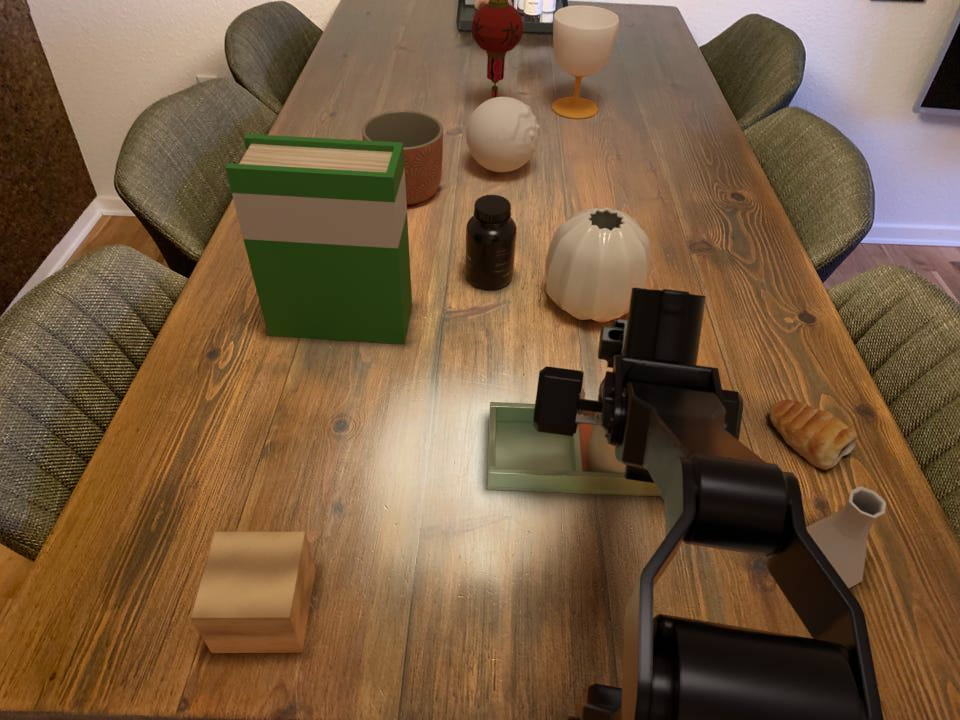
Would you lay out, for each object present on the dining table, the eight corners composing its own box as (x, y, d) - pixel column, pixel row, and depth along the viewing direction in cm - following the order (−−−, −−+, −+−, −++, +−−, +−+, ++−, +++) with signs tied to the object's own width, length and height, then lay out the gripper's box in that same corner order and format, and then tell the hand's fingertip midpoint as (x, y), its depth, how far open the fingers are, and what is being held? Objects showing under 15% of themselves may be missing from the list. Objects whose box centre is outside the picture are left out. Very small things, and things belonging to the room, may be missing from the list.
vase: (524, 283, 100) (532, 201, 90) (610, 261, 104) (625, 180, 95) (571, 346, 91) (585, 263, 82) (662, 320, 95) (685, 237, 86)
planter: (398, 221, 110) (393, 157, 102) (352, 187, 116) (345, 125, 109) (459, 194, 116) (459, 131, 108) (413, 163, 122) (410, 102, 114)
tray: (665, 496, 75) (671, 480, 73) (487, 489, 75) (488, 472, 73) (652, 425, 82) (657, 408, 80) (489, 418, 82) (490, 401, 80)
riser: (302, 653, 63) (289, 617, 58) (211, 653, 62) (190, 618, 57) (316, 569, 68) (305, 531, 63) (232, 570, 68) (214, 531, 63)
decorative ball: (522, 192, 117) (527, 123, 108) (455, 176, 120) (454, 108, 111) (544, 158, 125) (551, 92, 116) (481, 144, 127) (483, 79, 119)
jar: (588, 486, 75) (604, 419, 67) (581, 437, 80) (595, 369, 72) (650, 486, 75) (673, 419, 68) (639, 437, 80) (659, 369, 72)
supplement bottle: (455, 276, 101) (455, 203, 92) (487, 255, 104) (490, 183, 96) (490, 298, 97) (494, 225, 89) (523, 276, 101) (529, 203, 93)
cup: (564, 89, 144) (574, 0, 132) (615, 106, 140) (631, 15, 128) (533, 110, 137) (541, 18, 125) (585, 128, 133) (599, 34, 121)
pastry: (753, 426, 82) (763, 404, 80) (785, 399, 86) (796, 377, 83) (826, 477, 78) (840, 456, 75) (857, 446, 81) (871, 425, 78)
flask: (809, 513, 74) (847, 455, 67) (877, 559, 71) (924, 502, 64) (775, 556, 71) (810, 500, 63) (844, 607, 67) (890, 553, 60)
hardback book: (267, 335, 91) (225, 167, 74) (283, 298, 96) (246, 133, 79) (404, 344, 91) (393, 177, 74) (412, 306, 96) (403, 142, 79)
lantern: (485, 124, 133) (491, -55, 112) (460, 104, 139) (462, -71, 117) (527, 114, 136) (541, -62, 115) (502, 94, 142) (510, -77, 121)
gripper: (773, 335, 58) (726, 341, 74) (547, 307, 60) (547, 318, 75) (755, 469, 58) (711, 447, 74) (530, 437, 60) (533, 422, 76)
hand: (625, 406), depth 75 cm, fingers open, 9 cm apart
